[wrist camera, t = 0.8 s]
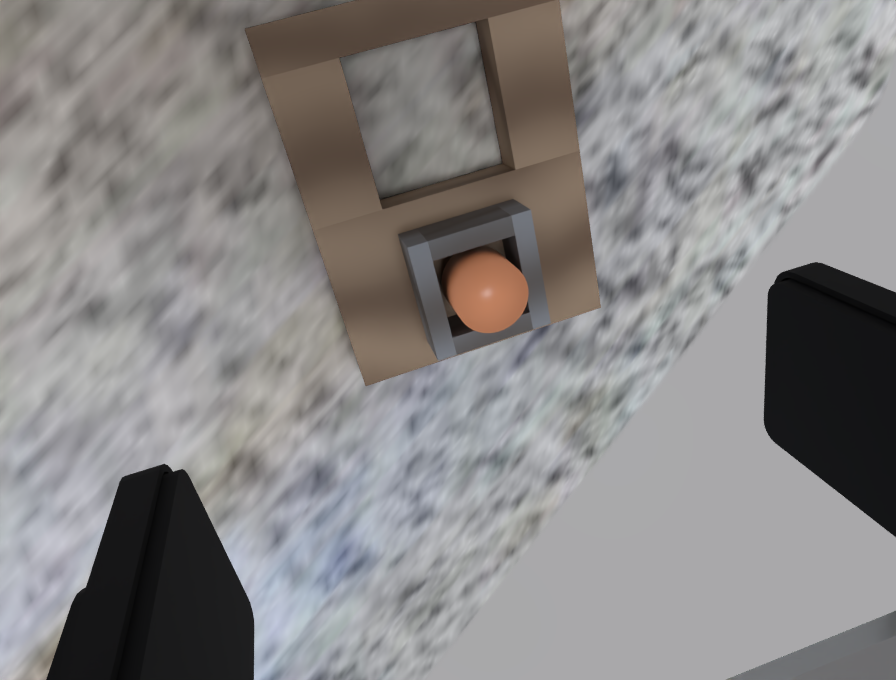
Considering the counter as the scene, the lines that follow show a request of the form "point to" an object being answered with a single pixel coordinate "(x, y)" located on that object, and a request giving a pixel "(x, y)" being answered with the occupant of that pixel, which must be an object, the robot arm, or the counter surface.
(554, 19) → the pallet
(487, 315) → the button
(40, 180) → the counter surface
